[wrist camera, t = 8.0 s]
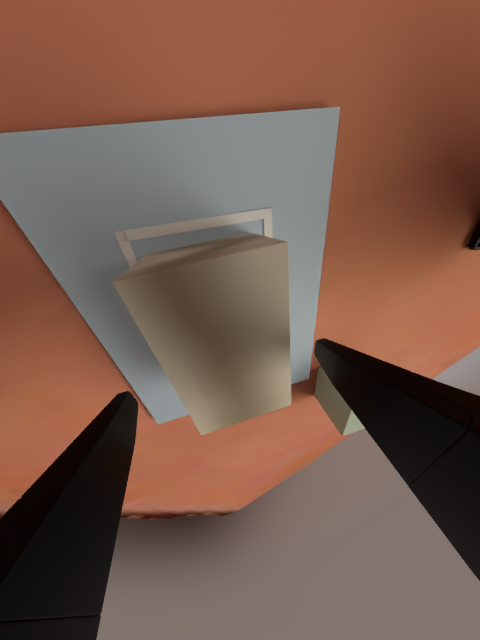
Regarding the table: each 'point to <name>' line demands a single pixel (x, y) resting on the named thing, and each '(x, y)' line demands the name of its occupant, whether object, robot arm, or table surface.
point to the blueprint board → (171, 213)
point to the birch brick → (217, 324)
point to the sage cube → (335, 405)
